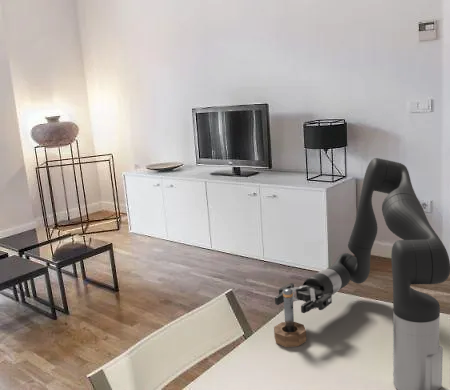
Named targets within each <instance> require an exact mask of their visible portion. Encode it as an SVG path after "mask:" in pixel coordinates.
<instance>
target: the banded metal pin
mask: <svg viewBox="0 0 450 390" xmlns="http://www.w3.org/2000/svg"><path fill="white" fill-rule="evenodd" d="M283 297H284V302H283V309H284V310H283V312H284V313H283V315H284V322H285V332H287V333H289V332H294V322H295V317H294V315H295V314H294V301H293V292H292V289H290V288H286V289H284V290H283Z"/></svg>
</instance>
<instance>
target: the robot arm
mask: <svg viewBox="0 0 450 390" xmlns="http://www.w3.org/2000/svg"><path fill="white" fill-rule="evenodd" d="M410 176H411V175H410V172H409V169H408V168H407V166H406V165H405V164H403V163H402V162H397V161H392V160H388V159H383V158H378V157H375V158H372V159H371V160H370V162H369V163H368V164H367V167H366V170H365V173H364V177H363V183H362V186H361V190H360V191H361V192H360V196H359V201H358V206H357V207H358V208H357V212H356V217H355V221H354V224H353V228H352V230H351V233H350V236H349V239H348V244H347V247H348V250H349V252H351V253H352V254H351V253H349V252H344V253H341V254H340V255H339V256H338V257H337V258H336V260H335V261H334V262H333V264H332V265H331V266H329V267H327V268H326V269H324V270H320V271H318V272H317V273H315V274H313V275H312V276H309V277H307V278H306V279H305V281H304V282H303V284H301V285H298V286H295V283H293V282H291V283H288V284H287V285H283V286H282V287H280V288H278V295H276V296H275V297H274V303H275V305H276V306H279V305H281V304H282V303H283V304H284V297H283V290H284V289H286V288H290V289H292V292H293V302H297V301H303V302H304V303H303V304H301V305H300V312H301V313H303V314H305V313H308V312H310V311H312V310H316V309H318V310H319V311H324V309H326V308H327V307H328V306H330V305H331V304H333V296H334V295H336V293H337V292H338V291H340V290H342V289H343V288H345V287H346V286H347V285H348V284H349V283H350V281H351V282H353V283H354V284H358V285H359V284H362V283H364V282H366V281H367V279H368V278H369V275H370V271H371V254H372V248H373V246H374V243H375V240H376V238H377V236H378V235H377V234H378V228H379V227H378V222H377V218H376V215H375V211H374V207H373V202H372V201H373V194H374V192H379V193H384V194H387V195H386V197H385V198H384V200H383V202H382V204H381V211H382V216H383V219H384V221H385V225H386V226H387V228H388V230H390V232H392V234H394V235H395V236H397V237H398V238H399V239H401V240H395V242H394V243H393V245H392V247H391V255H390V256H391V274H392V275H391V276H392V301H393V302H392V303H393V305H392V306H393V307H392V311H393V312H392V318H393V319H392V320H393V321H392V323H393V324H392V325H393V326H392V327H393V328H392V331H393V332H392V336H393V338H392V340H393V342H392V343H393V344H392V346H393V347H392V348H393V350H392V351H393V352H392V355H393V356H392V357H393V358H392V359H393V361H392V362H393V363H392V364H393V371H392V374H393V375H392V376H393V379H392V380H393V382H392V383H393V386H394V387H395V389H397V390H440V389H441V388H442V387H443V356H444V355H443V351H444V350H443V349H444V348H443V346H442V345H440V320H441V319H440V318H441V317H440V314H441V313H440V311H441V306H440V303H439V301H438V300H437V298H435V297H433V296H432V295H430V294H428V293H424V292H422V291H419V290H416V289H415V288H412V287H411V286H412V285H439V284H442V283H444V282H446V280H448V279H449V277H450V257H449V253H448V251H447V248H446V247H445V244H444V243H443V242H442V239H441V238H440V237H439V236H438V234H437V233H436V231H435V229H434V228H433V227H432V225H431V224H430V222H429V220H428V218H427V215H426V213H425V211H424V208H423V205H422V204H421V201H420V200H419V198H418V197H417V194H416V192H415V189H414V188H413V184H412V181H411V177H410ZM295 292H296V293H295ZM295 295H296V297H295Z"/></svg>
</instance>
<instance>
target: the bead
mask: <svg viewBox="0 0 450 390" xmlns="http://www.w3.org/2000/svg"><path fill="white" fill-rule="evenodd" d="M273 333H274V334H273V335H274V340H275V344H276V345H280V346H282V347H285V348H293V347H300V346H301V345H303V344H304V343H306V342H307V330H306V327H305V325H304V324H302V323H300V322H296V321H294V332H289V333H287V332H285V321H281V322H279V323H278V324H277V325H275V326H273Z"/></svg>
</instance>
